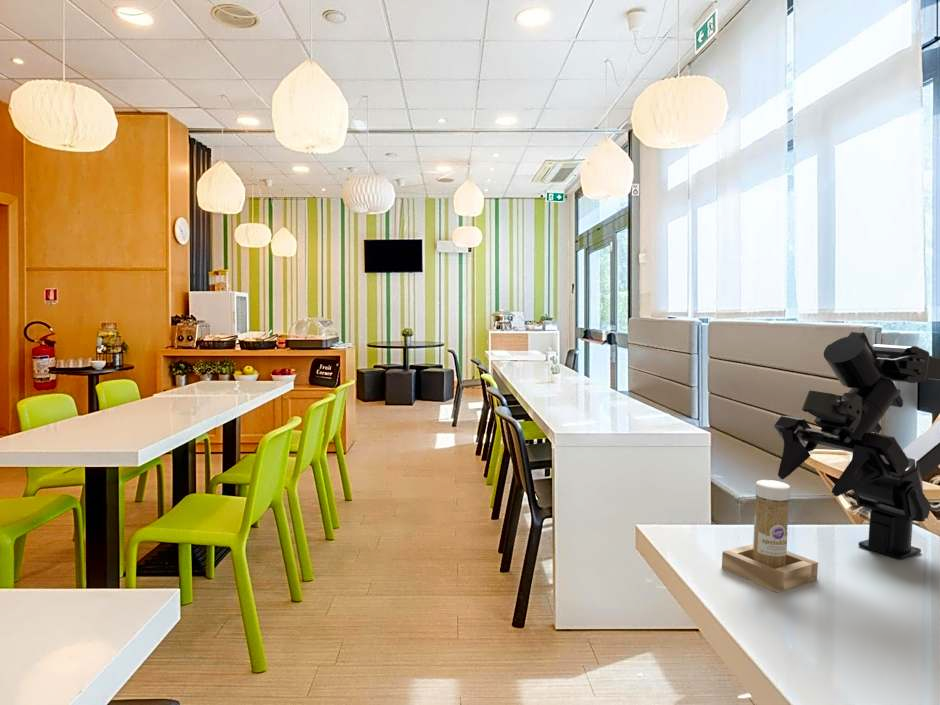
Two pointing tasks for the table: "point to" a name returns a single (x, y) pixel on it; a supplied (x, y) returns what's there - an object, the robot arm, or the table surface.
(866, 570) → the table surface
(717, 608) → the table surface
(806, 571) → the block
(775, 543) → the sprinkles bottle
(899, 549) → the robot arm
